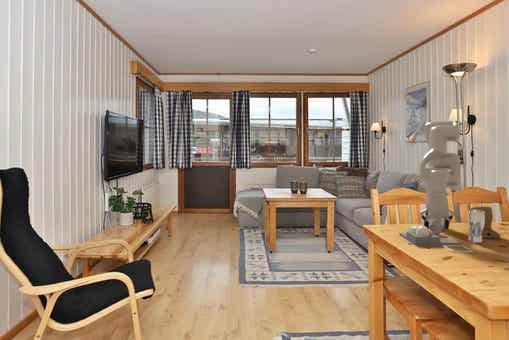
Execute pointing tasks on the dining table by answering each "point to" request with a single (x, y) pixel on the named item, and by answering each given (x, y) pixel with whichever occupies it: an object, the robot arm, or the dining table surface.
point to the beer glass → (476, 225)
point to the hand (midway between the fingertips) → (436, 228)
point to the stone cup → (487, 223)
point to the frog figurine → (435, 227)
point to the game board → (431, 239)
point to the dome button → (422, 231)
